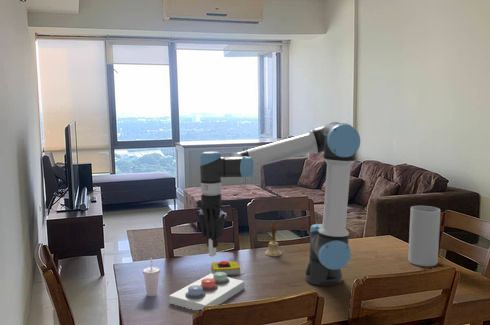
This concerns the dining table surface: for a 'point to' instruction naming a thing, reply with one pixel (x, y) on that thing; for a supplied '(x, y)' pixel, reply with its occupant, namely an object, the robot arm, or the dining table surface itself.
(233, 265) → the emergency button
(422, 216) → the cylinder vase
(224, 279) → the sage-green button
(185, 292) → the button panel
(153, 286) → the smoothie
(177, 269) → the dining table surface
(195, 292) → the slate-blue button
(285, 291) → the dining table surface
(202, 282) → the red button
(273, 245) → the hand bell
